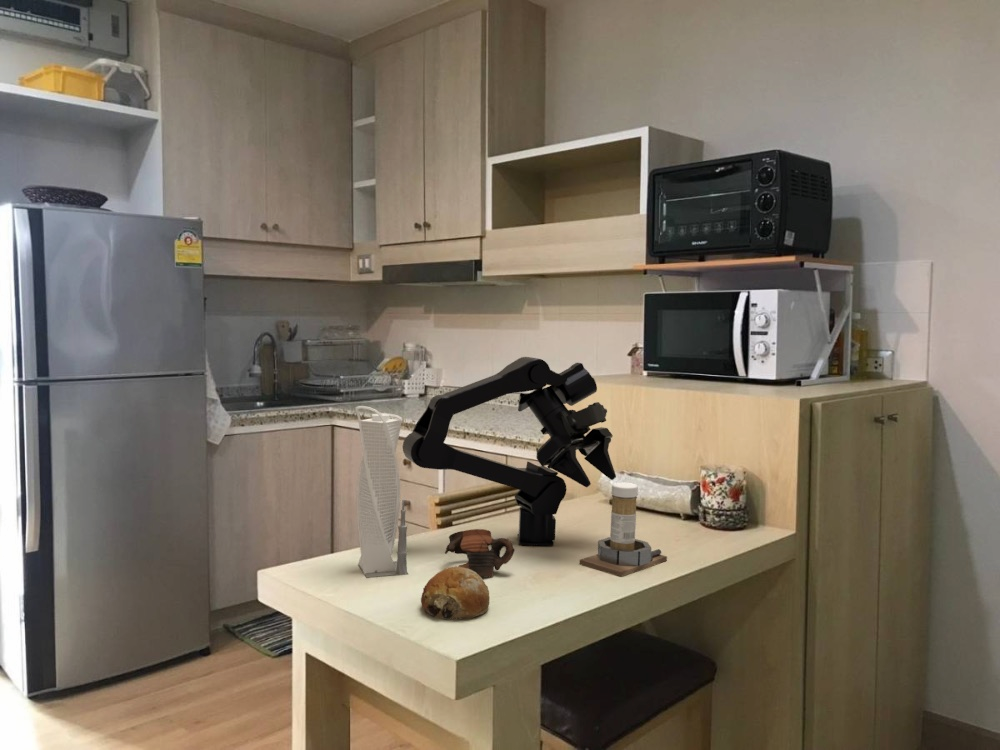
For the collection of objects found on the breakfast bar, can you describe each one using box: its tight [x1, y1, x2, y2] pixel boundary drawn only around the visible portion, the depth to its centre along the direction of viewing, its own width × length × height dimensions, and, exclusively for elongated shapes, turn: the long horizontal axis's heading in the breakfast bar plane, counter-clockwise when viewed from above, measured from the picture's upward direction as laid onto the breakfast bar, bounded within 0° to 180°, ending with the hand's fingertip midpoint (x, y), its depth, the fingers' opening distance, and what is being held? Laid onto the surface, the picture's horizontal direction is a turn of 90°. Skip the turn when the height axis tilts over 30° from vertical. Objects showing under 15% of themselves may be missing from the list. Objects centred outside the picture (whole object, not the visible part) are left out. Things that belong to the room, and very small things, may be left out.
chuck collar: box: [597, 536, 662, 566], centre depth 146 cm, size 11×9×2 cm
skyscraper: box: [354, 405, 409, 579], centre depth 136 cm, size 8×8×28 cm
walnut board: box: [579, 553, 668, 577], centre depth 146 cm, size 14×9×1 cm, turn 136°
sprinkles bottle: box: [609, 481, 639, 550], centre depth 145 cm, size 5×5×13 cm
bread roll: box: [420, 565, 491, 620], centre depth 120 cm, size 10×10×8 cm
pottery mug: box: [444, 528, 515, 578], centre depth 138 cm, size 12×10×8 cm
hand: (601, 482), depth 149 cm, fingers open, 9 cm apart
